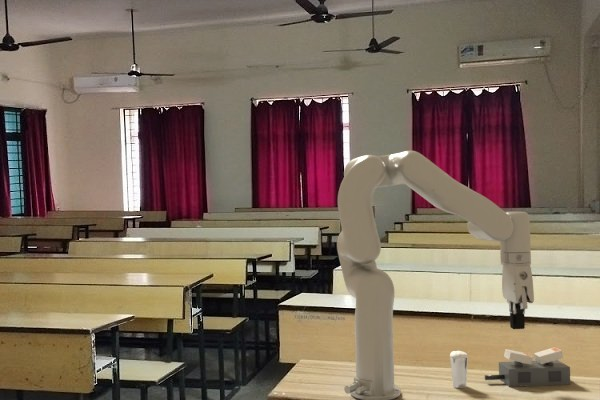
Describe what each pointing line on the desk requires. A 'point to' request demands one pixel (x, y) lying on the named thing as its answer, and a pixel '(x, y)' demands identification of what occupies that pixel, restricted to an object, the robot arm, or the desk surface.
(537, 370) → the rocker switch panel
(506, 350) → the rocker
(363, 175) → the robot arm
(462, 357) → the milkshake
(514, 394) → the desk surface
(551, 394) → the desk surface
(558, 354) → the rocker
